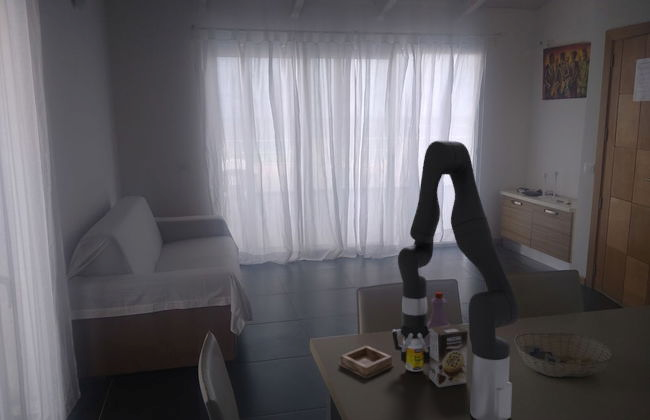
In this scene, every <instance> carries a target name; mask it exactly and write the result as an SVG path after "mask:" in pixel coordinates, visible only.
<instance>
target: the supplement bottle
mask: <svg viewBox="0 0 650 420" xmlns="http://www.w3.org/2000/svg"><path fill="white" fill-rule="evenodd" d="M404 364H405V368H406V370H408V371H410V372H420V371H423V369H424V366H425V365H424V364H425V363H424V348H423V346H422V344H421V342H420V340H419V338H411V340H410V342H409V344H408V346H407V348H406V363H404Z"/></svg>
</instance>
